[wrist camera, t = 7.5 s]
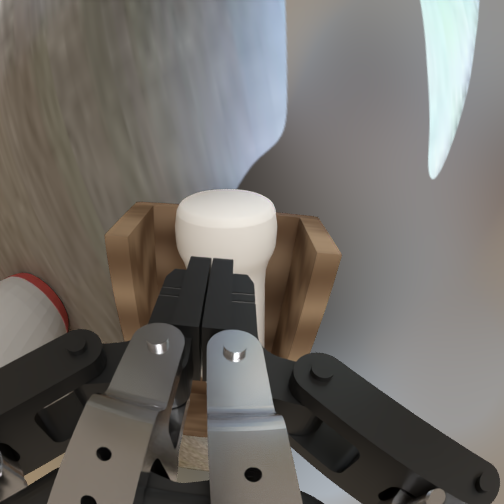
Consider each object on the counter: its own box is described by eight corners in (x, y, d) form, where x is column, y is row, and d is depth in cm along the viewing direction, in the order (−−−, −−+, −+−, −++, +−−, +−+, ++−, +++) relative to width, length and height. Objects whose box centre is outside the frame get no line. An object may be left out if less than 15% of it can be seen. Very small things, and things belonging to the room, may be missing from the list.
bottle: (272, 226, 17) (253, 437, 32) (282, 191, 24) (262, 392, 39) (154, 215, 19) (195, 425, 33) (195, 184, 26) (210, 382, 40)
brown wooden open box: (137, 201, 26) (104, 235, 19) (317, 216, 28) (342, 254, 21) (162, 391, 41) (154, 430, 34) (269, 399, 42) (273, 439, 36)
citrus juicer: (55, 356, 38) (14, 447, 20) (-8, 280, 30) (-73, 363, 12) (108, 338, 35) (62, 461, 17) (32, 240, 27) (-66, 345, 10)
